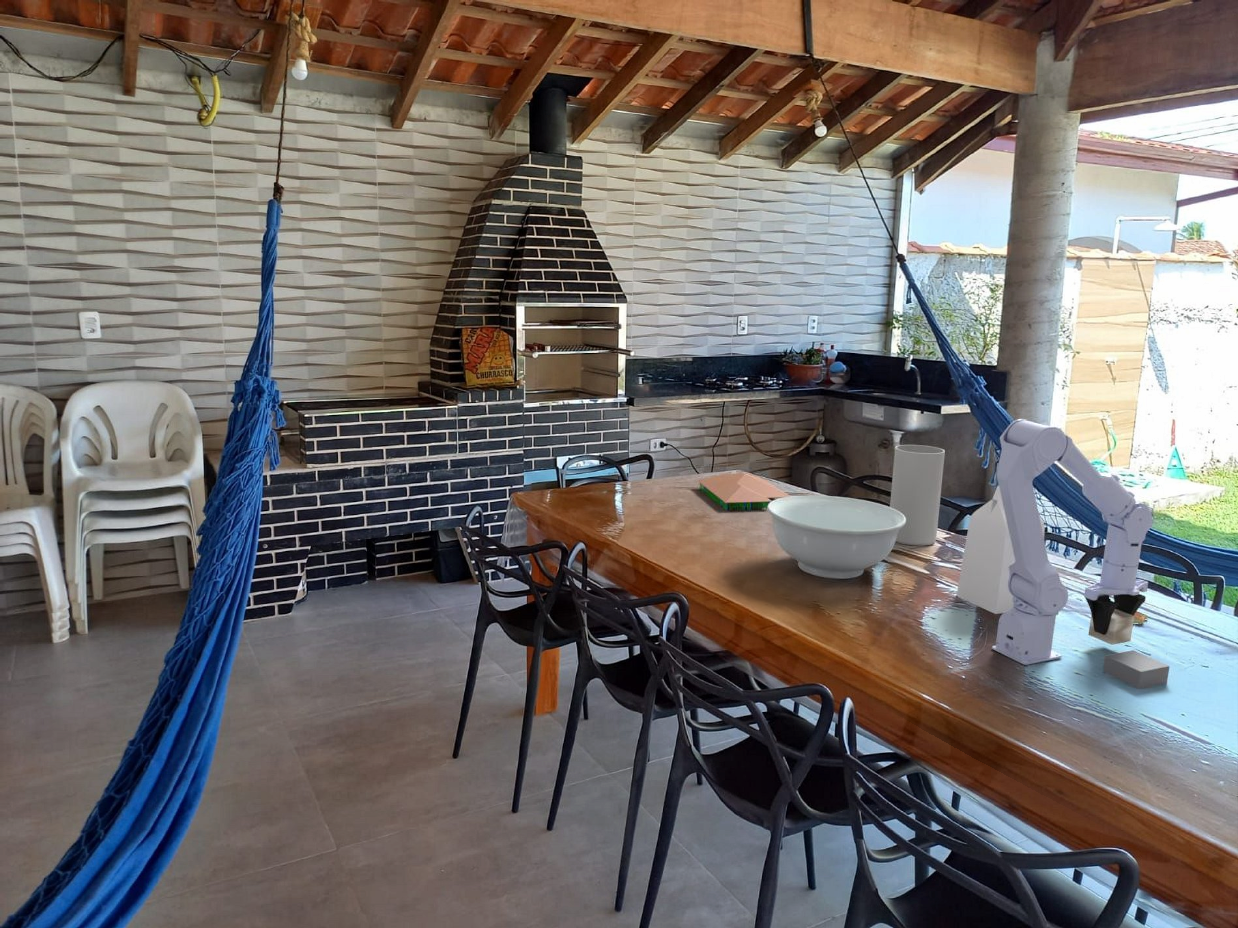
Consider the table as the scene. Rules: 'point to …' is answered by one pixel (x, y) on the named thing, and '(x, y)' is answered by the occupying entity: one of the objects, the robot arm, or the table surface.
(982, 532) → the milk
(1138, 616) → the shard
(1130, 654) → the gray base block
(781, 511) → the bowl
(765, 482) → the house
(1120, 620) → the cream cube
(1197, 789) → the table surface
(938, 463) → the cylinder vase
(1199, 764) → the table surface
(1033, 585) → the robot arm
